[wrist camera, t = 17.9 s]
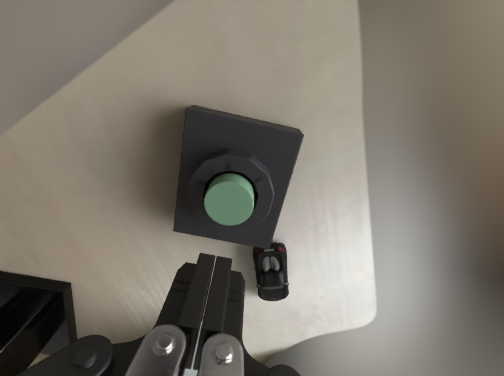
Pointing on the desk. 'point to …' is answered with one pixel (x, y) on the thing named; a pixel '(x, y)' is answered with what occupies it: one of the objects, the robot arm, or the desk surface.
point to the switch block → (238, 162)
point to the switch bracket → (33, 320)
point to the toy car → (271, 272)
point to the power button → (229, 199)
